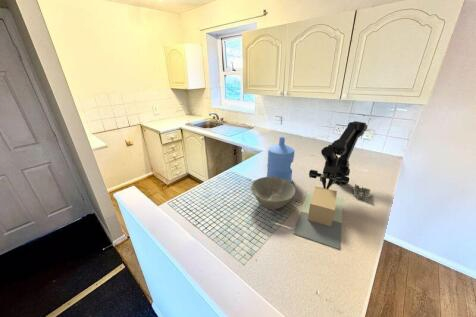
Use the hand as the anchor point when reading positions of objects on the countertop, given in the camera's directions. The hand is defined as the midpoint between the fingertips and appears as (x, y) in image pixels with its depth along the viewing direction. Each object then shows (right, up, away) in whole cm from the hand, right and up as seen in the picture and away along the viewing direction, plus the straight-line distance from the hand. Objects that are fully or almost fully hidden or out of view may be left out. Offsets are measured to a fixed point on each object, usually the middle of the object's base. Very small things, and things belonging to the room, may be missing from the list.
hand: (324, 192), depth 98 cm
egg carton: (+24, -3, +9) cm, 26 cm away
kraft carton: (-4, -9, -4) cm, 10 cm away
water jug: (-18, +4, +26) cm, 32 cm away
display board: (-4, -10, -5) cm, 12 cm away
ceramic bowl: (-26, -6, +4) cm, 27 cm away
